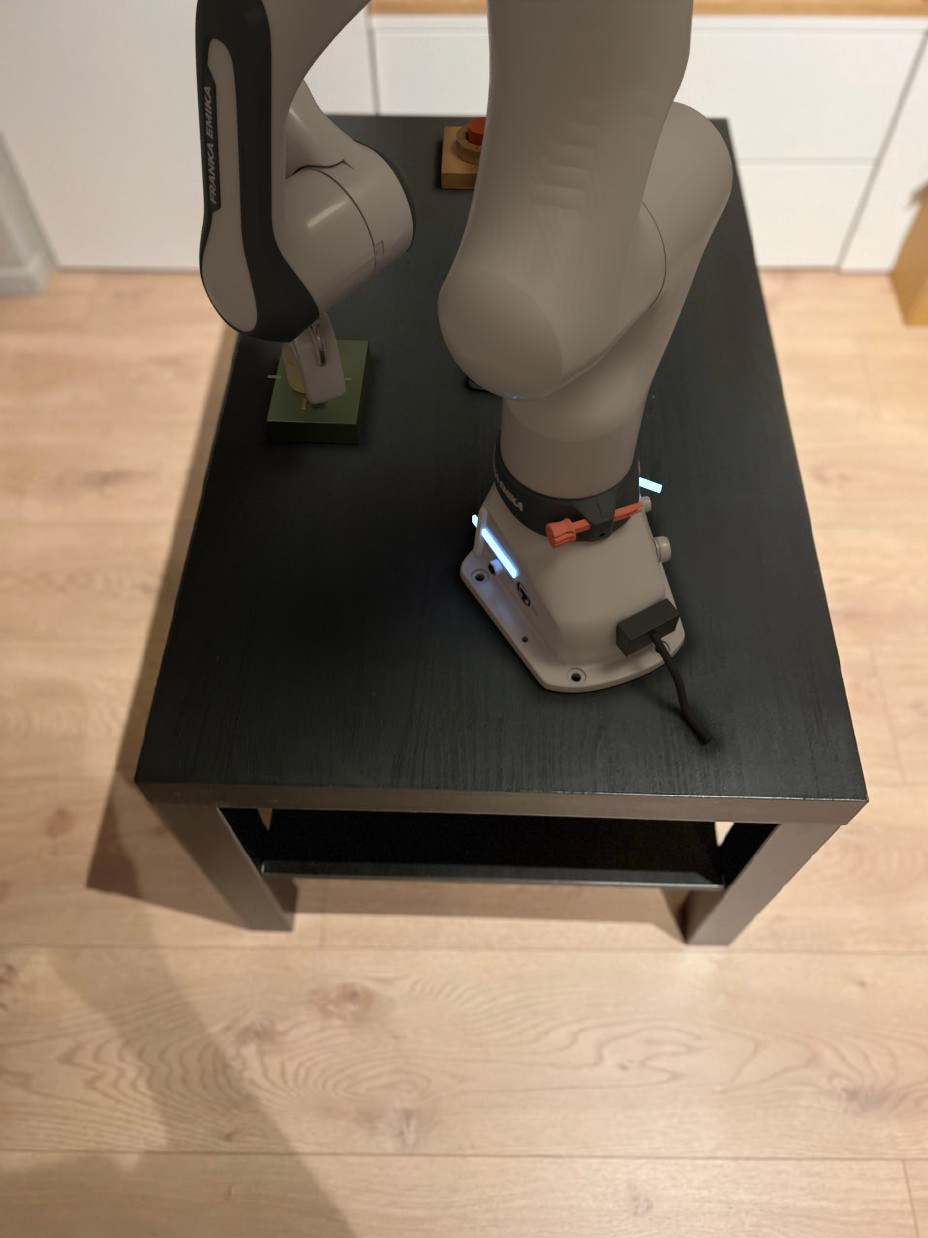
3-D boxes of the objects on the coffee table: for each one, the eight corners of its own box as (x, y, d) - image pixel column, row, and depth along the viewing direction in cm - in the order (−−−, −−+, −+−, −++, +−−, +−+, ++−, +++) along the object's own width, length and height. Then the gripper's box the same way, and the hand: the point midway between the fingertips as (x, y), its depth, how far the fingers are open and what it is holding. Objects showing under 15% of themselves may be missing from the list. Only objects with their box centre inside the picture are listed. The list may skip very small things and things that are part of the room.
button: (496, 130, 124) (497, 116, 122) (496, 147, 122) (497, 133, 120) (468, 130, 124) (468, 116, 122) (467, 146, 122) (467, 133, 120)
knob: (327, 394, 100) (323, 366, 97) (284, 393, 100) (278, 364, 97) (333, 364, 102) (328, 335, 99) (291, 362, 102) (285, 334, 99)
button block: (521, 142, 128) (522, 113, 125) (521, 189, 123) (522, 159, 119) (444, 142, 128) (443, 112, 125) (441, 188, 123) (440, 159, 120)
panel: (359, 444, 100) (355, 422, 98) (263, 440, 101) (258, 419, 98) (371, 361, 107) (368, 338, 104) (281, 358, 107) (276, 335, 104)
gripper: (354, 322, 84) (368, 434, 96) (291, 186, 94) (311, 302, 106) (282, 340, 83) (305, 451, 95) (227, 200, 93) (254, 316, 105)
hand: (308, 371), depth 100 cm, fingers closed on knob, 4 cm apart
